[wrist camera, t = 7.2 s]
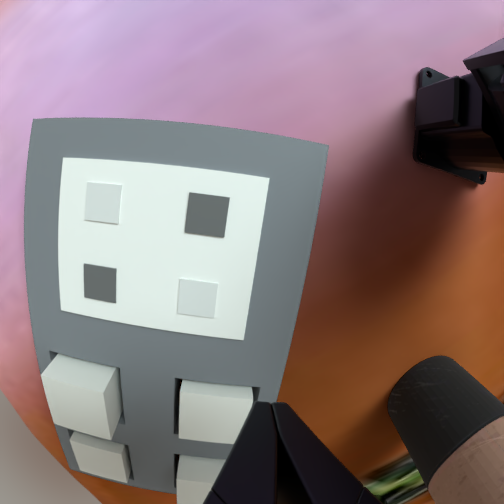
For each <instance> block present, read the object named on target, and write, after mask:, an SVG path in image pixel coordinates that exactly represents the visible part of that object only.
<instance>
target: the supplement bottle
mask: <svg viewBox="0 0 504 504" xmlns="http://www.w3.org/2000/svg"><path fill="white" fill-rule="evenodd" d="M374 496H375V497H376V498H377V499H378V500H379V501H380V502H382V503H383V504H388V503H387V501H386V500H385V498H384V497H382V496H380V495H374Z"/></svg>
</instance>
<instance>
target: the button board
mask: <svg viewBox="0 0 504 504" xmlns="http://www.w3.org/2000/svg"><path fill="white" fill-rule="evenodd" d="M328 148H329V145H325V144H320V143H316V142H311V141H306V140H301V139H296V138H291V137H285V136H280V135H274V134H268V133H262V132H256V131H249V130H242V129H235V128H228V127H220V126H212V125H203V124H194V123H184V122H173V121H160V120H145V119H124V118H44V119H33V123H32V129H31V136H30V143H29V151H28V161H27V171H26V185H25V205H24V249H25V269H26V283H27V294H28V303H29V311H30V319H31V326H32V332H33V338H34V344H35V349H36V355H37V360H38V364H39V369H40V374H42V373H43V372H44V370H45V369H46V368H47V367H48V365H49V364H50V363H51V362H52V360H53V359H54V358H55V357H56V356H57V354H58V353H60V354H64V355H68V356H71V357H75V358H79V359H83V360H87V361H91V362H95V363H100V364H104V365H109V366H113V367H118V368H120V376H121V388H122V399H123V411H122V414H121V416H120V419H119V421H118V424H117V427H116V429H115V432H114V434H113V437H112V440H108V441H112V442H116V443H121V444H125V445H128V446H129V452H130V458H131V464H132V468H131V472H130V475H129V479H128V483H124V482H120V481H116V480H112V479H108V478H104V477H101V476H97V475H94V474H90V473H87V472H84V471H81V470H80V469H79V466H78V463H77V460H76V458H75V455H74V452H73V449H72V446H71V443H70V438H71V436H72V434H73V432H74V431H75V430H72V429H69V428H66V427H63V426H60V425H57V424H54V425H55V428H56V431H57V434H58V437H59V440H60V443H61V446H62V448H63V451H64V454H65V456H66V459H67V462H68V464H69V467H70V469H72V470H75V471H78V472H81V473H84V474H88V475H91V476H94V477H98V478H101V479H105V480H109V481H113V482H117V483H121V484H125V485H129V486H134V487H139V488H143V489H149V490H154V491H160V492H166V493H172V494H177V472H178V464H179V461H178V454H180V455H187V456H195V457H203V458H213V459H225V460H226V459H227V457H228V455H229V453H230V451H231V449H232V447H233V445H234V444H226V443H214V442H205V441H196V440H188V439H181V438H179V406H180V405H179V389H180V379H187V380H194V381H202V382H210V383H219V384H229V385H239V386H251V387H252V393H253V403H254V402H255V401H265V402H269V403H270V404H271V403H272V402H276V401H277V397H278V393H279V389H280V385H281V381H282V377H283V373H284V369H285V365H286V361H287V357H288V353H289V349H290V345H291V340H292V336H293V332H294V328H295V323H296V319H297V314H298V310H299V305H300V301H301V296H302V291H303V287H304V282H305V277H306V272H307V267H308V262H309V257H310V252H311V247H312V242H313V237H314V231H315V226H316V220H317V215H318V209H319V204H320V198H321V192H322V186H323V180H324V174H325V168H326V161H327V155H328ZM253 403H252V405H253ZM76 432H79V431H76ZM79 433H82V432H79ZM83 434H85V433H83ZM86 435H89V434H86ZM90 436H92V435H90ZM93 437H96V436H93ZM97 438H100V437H97ZM101 439H104V438H101ZM104 440H107V439H104Z"/></svg>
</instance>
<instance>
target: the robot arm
mask: <svg viewBox="0 0 504 504" xmlns="http://www.w3.org/2000/svg"><path fill="white" fill-rule="evenodd" d="M463 62H464V64H465V66H466V67H467V69H468V70H470V71H471V73H470V74H467V75H463V76H460V77H459V76H454V77H451V78H450V77H448V76H446V75H444V74H442V73H439V72H437V71H435V70H433V69H431V68H428V67H426V68H423V69H421V70H420V76H419V89H418V91H417V103H416V115H415V128H416V131H415V140H414V148H413V158H414V160H415V161H416V162H417V163H420V164H423V165H426V166H429V167H432V168H435V169H438V170H441V171H444V172H446V173H449V174H452V175H455V176H458V177H460V178H463V179H466V180H468V181H471V182H474V183H476V184H482V185H483V184H484V183H485V182H486V176H487V172H498V173H504V38H502V39H500V40H498V41H497V42H495V43H493V44H491V45H489V46H487V47H486V48H484V49H482V50H480V51H478V52H477V53H475V54H473V55H471V56H470V57H468V58H466V59H464V60H463ZM426 73H428V75H429V78H428V77H427V75H426ZM420 152H421V153H422V158H420V156H419V154H420ZM479 176H480V178H479ZM203 504H383V503H382V502H380V501H379V500H378V499H377V498H376V497H375V496H374V495H373V494H372V493H371V492H370V491H369V490H368V489H367V488H366V487H363V484H362V483H361V482H360V481H359V480H358V479H357V478H356V477H355V476H354V475H353V474H352V473H351V472H350V471H349V470H348V469H347V468H346V467H345V466H344V465H343V464H342V463H341V462H340V461H339V460H338V459H337V458H336V457H335V456H334V454H333V453H332V452H331V451H330V450H329V449H328V448H327V447H326V446H325V445H324V444H323V443H322V442H321V441H320V439H319V438H318V437H317V436H316V435H315V434H314V433H313V432H312V431H311V430H310V429H309V427H308V426H307V425H306V424H305V423H304V422H303V421H302V420H301V419H300V417H299V416H298V415H297V414H296V413H295V412H294V411H293V409H292V408H291V407H290V406H289V405H288V404H287V403H284V402H272V403H271V404H270V403H269V402H265V401H255V402H254V403H253V405H252V407H251V409H250V411H249V413H248V416H247V418H246V420H245V422H244V424H243V426H242V428H241V430H240V432H239V434H238V436H237V438H236V440H235V443H234V445H233V447H232V449H231V451H230V453H229V455H228V457H227V459H226V461H225V463H224V465H223V466H222V468H221V470H220V472H219V474H218V476H217V478H216V480H215V482H214V484H213V486H212V488H211V491H209V493H208V495H207V497H206V498H205V500H204V502H203Z"/></svg>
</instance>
